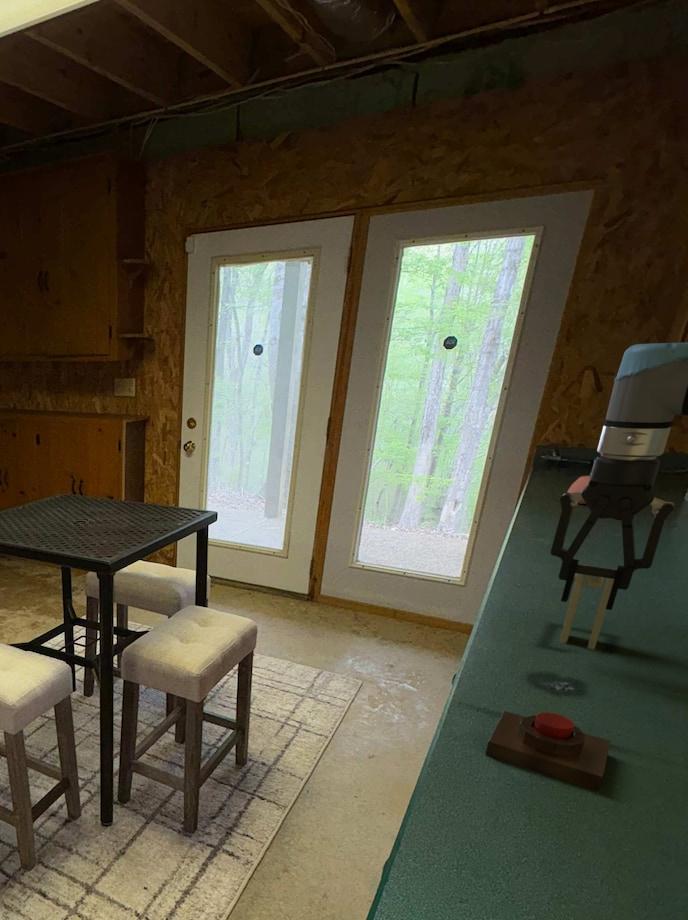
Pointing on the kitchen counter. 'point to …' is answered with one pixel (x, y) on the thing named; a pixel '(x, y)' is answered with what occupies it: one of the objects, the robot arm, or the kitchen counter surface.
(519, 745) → the brown button housing
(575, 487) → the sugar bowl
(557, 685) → the blueberries
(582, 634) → the kitchen counter surface
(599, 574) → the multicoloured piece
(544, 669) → the kitchen counter surface
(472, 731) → the kitchen counter surface
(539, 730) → the button
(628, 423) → the robot arm
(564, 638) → the light wood frame
